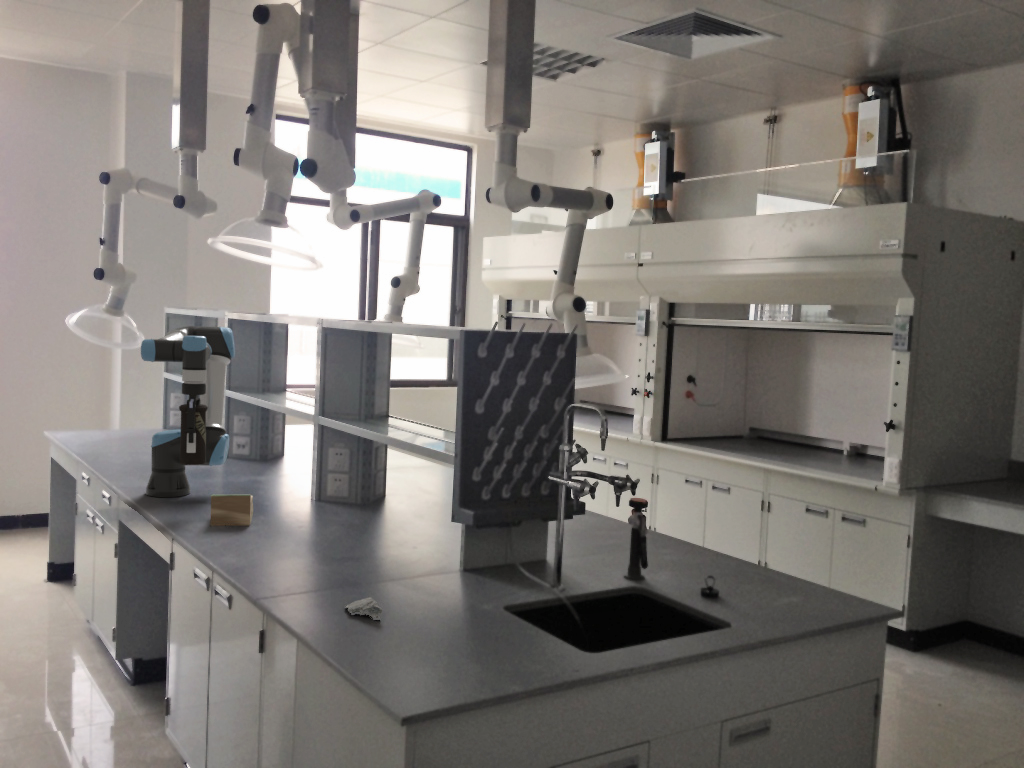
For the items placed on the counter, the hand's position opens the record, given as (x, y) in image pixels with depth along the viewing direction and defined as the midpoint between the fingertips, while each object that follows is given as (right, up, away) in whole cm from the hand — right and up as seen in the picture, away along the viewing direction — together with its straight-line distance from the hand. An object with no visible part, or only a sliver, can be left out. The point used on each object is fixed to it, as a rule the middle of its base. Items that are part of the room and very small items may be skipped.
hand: (192, 450), depth 298 cm
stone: (+72, -32, -90) cm, 120 cm away
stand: (+15, -22, -4) cm, 27 cm away
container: (0, -4, 0) cm, 4 cm away
